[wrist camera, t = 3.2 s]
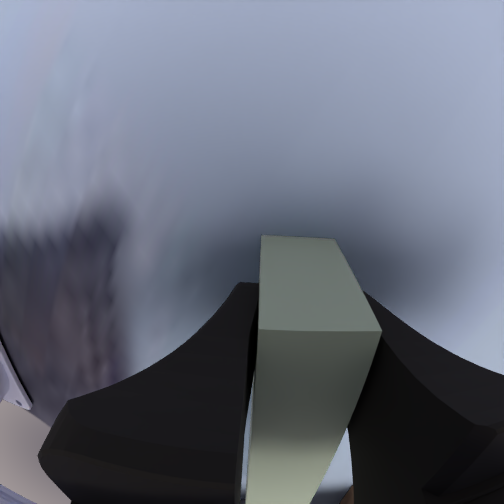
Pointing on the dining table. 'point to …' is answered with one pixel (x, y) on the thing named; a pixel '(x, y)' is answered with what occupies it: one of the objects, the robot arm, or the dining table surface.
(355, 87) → the dining table surface
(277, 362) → the bar
